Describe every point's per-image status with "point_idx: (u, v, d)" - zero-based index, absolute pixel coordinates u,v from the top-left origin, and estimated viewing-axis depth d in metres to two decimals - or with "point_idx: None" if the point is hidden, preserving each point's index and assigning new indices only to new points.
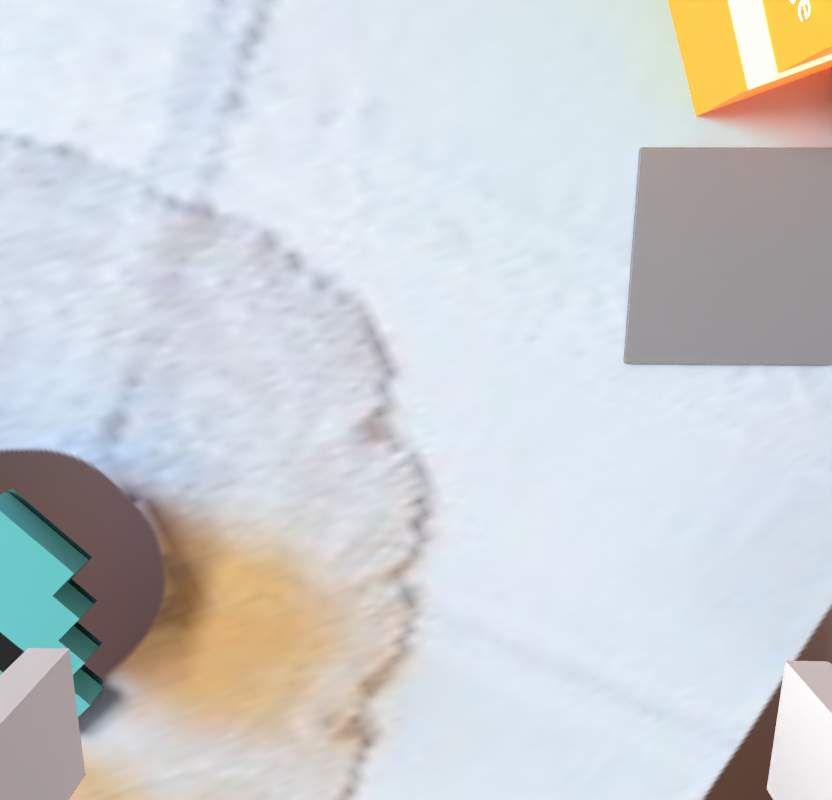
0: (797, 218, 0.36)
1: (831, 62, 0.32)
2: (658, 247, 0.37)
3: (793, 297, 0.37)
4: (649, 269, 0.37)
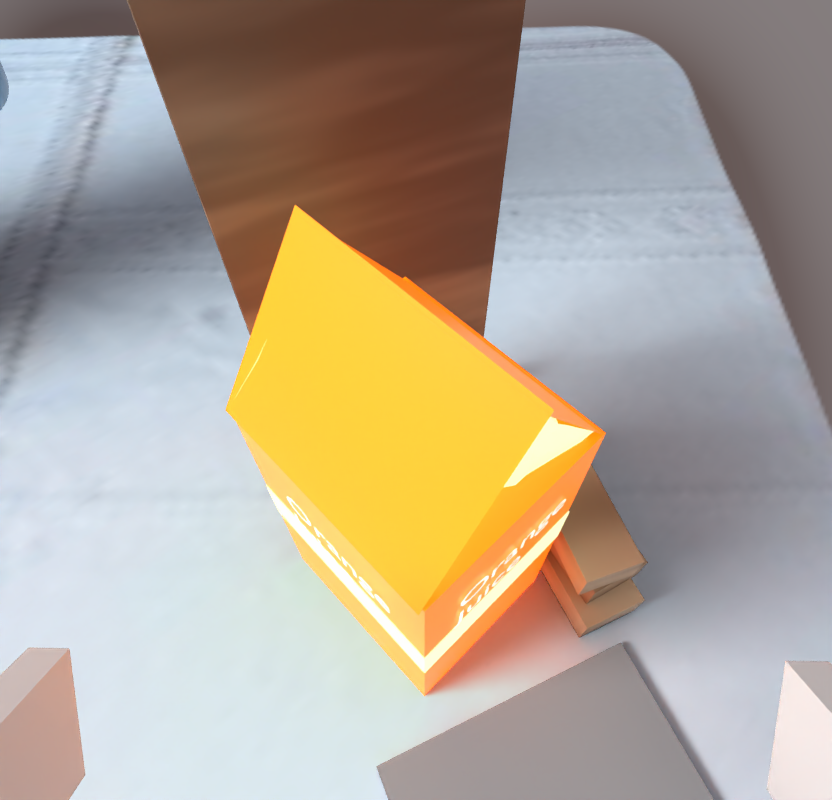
0: (609, 759, 0.27)
1: (513, 590, 0.28)
2: None
3: None
4: None
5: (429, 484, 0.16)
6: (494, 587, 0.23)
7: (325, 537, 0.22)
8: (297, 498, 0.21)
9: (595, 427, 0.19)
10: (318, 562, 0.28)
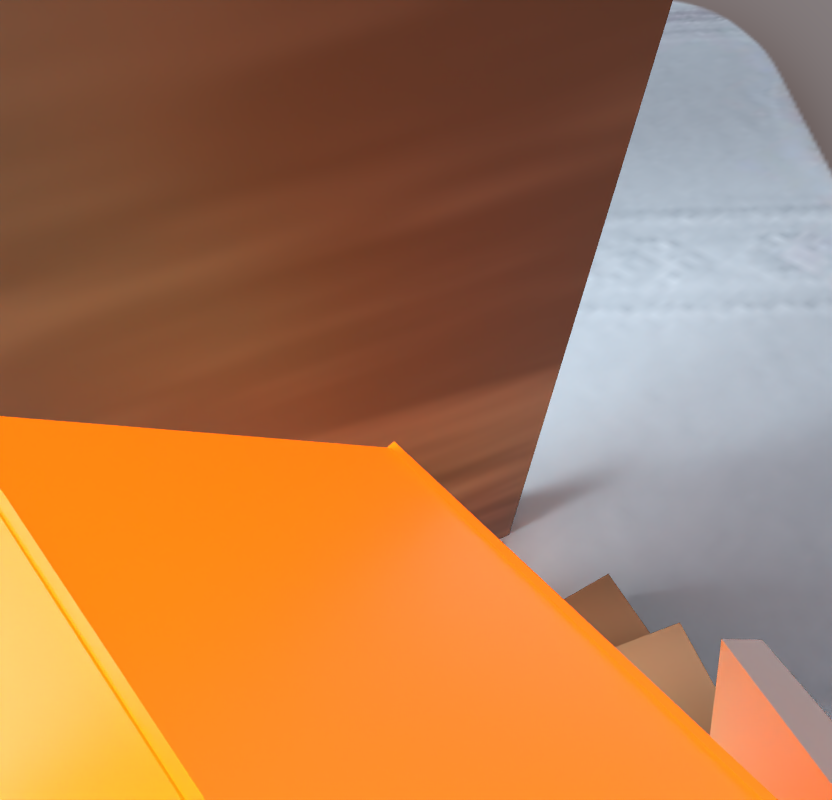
0: None
1: None
2: None
3: None
4: None
5: None
6: None
7: None
8: None
9: None
10: None
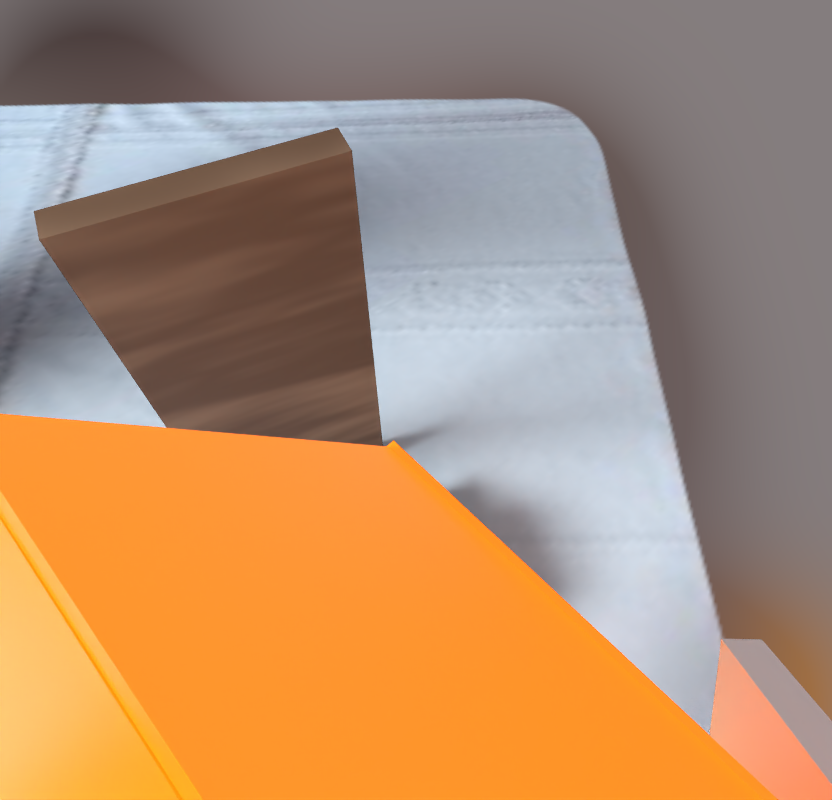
0: None
1: None
2: None
3: None
4: None
5: None
6: None
7: None
8: None
9: None
10: None
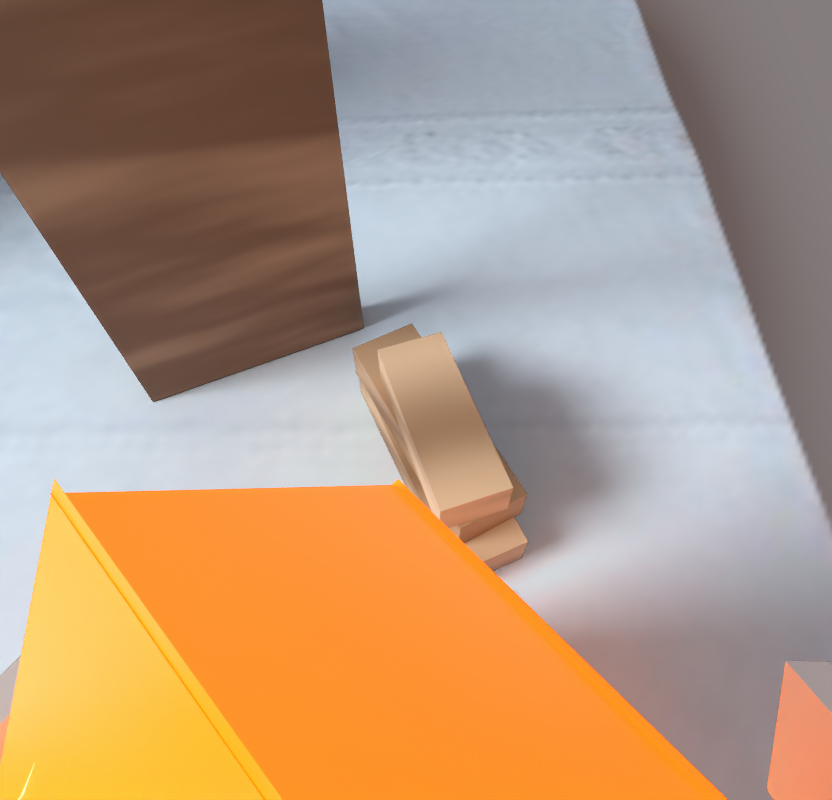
0: None
1: None
2: None
3: None
4: None
5: None
6: None
7: None
8: None
9: None
10: None
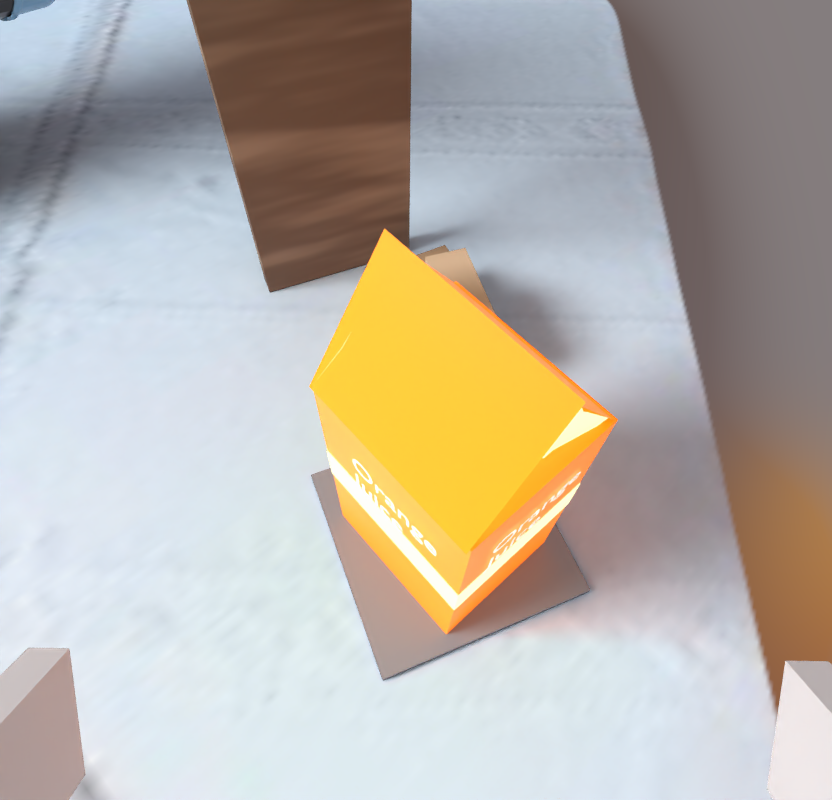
0: None
1: (527, 548, 0.33)
2: (363, 549, 0.36)
3: None
4: (363, 572, 0.35)
5: (482, 453, 0.20)
6: (516, 542, 0.28)
7: (381, 494, 0.26)
8: (361, 461, 0.26)
9: (609, 414, 0.24)
10: (362, 517, 0.33)
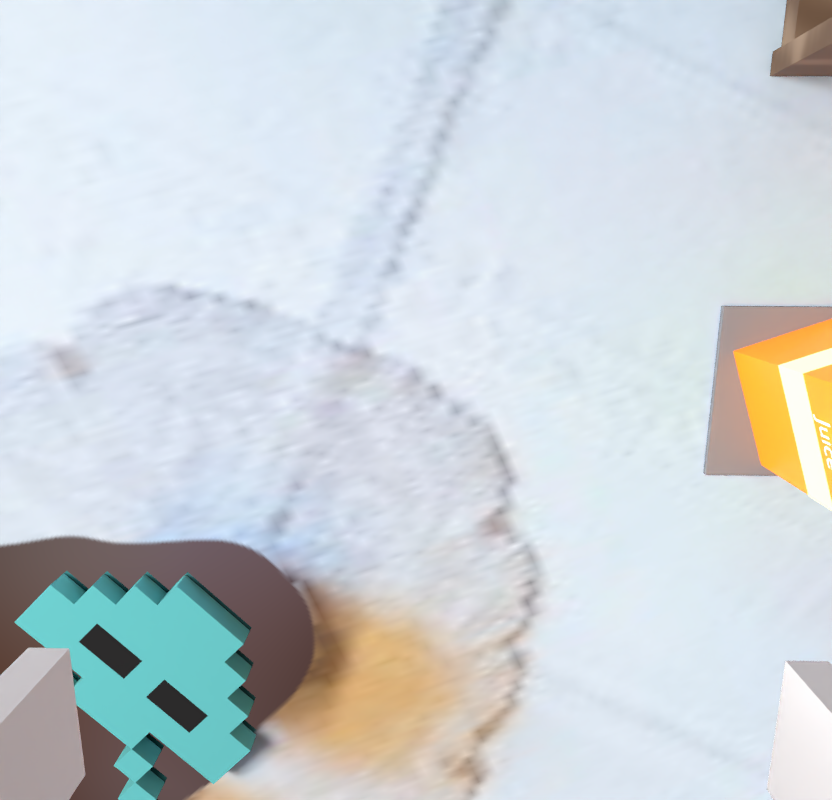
0: None
1: None
2: (735, 383, 0.45)
3: None
4: (727, 401, 0.45)
5: None
6: None
7: None
8: None
9: None
10: (770, 391, 0.41)
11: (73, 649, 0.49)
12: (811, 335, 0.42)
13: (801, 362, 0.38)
